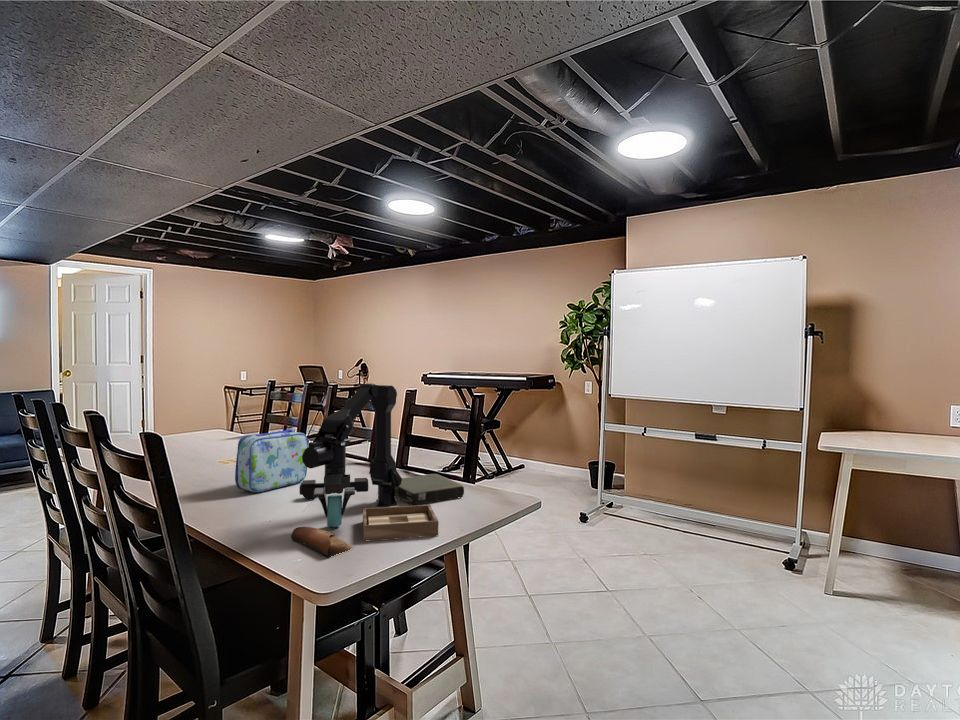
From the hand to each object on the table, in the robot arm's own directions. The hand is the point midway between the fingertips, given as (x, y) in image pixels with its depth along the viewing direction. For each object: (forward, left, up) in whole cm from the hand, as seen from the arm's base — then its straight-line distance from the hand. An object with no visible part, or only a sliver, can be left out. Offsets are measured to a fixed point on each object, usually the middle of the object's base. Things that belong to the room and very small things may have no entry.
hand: (334, 515), depth 142 cm
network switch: (-29, +30, -4) cm, 42 cm away
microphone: (-36, -4, -4) cm, 37 cm away
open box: (+5, +18, -3) cm, 19 cm away
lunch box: (-51, -24, -4) cm, 56 cm away
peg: (0, 0, -2) cm, 2 cm away
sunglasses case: (+13, -3, -4) cm, 14 cm away
